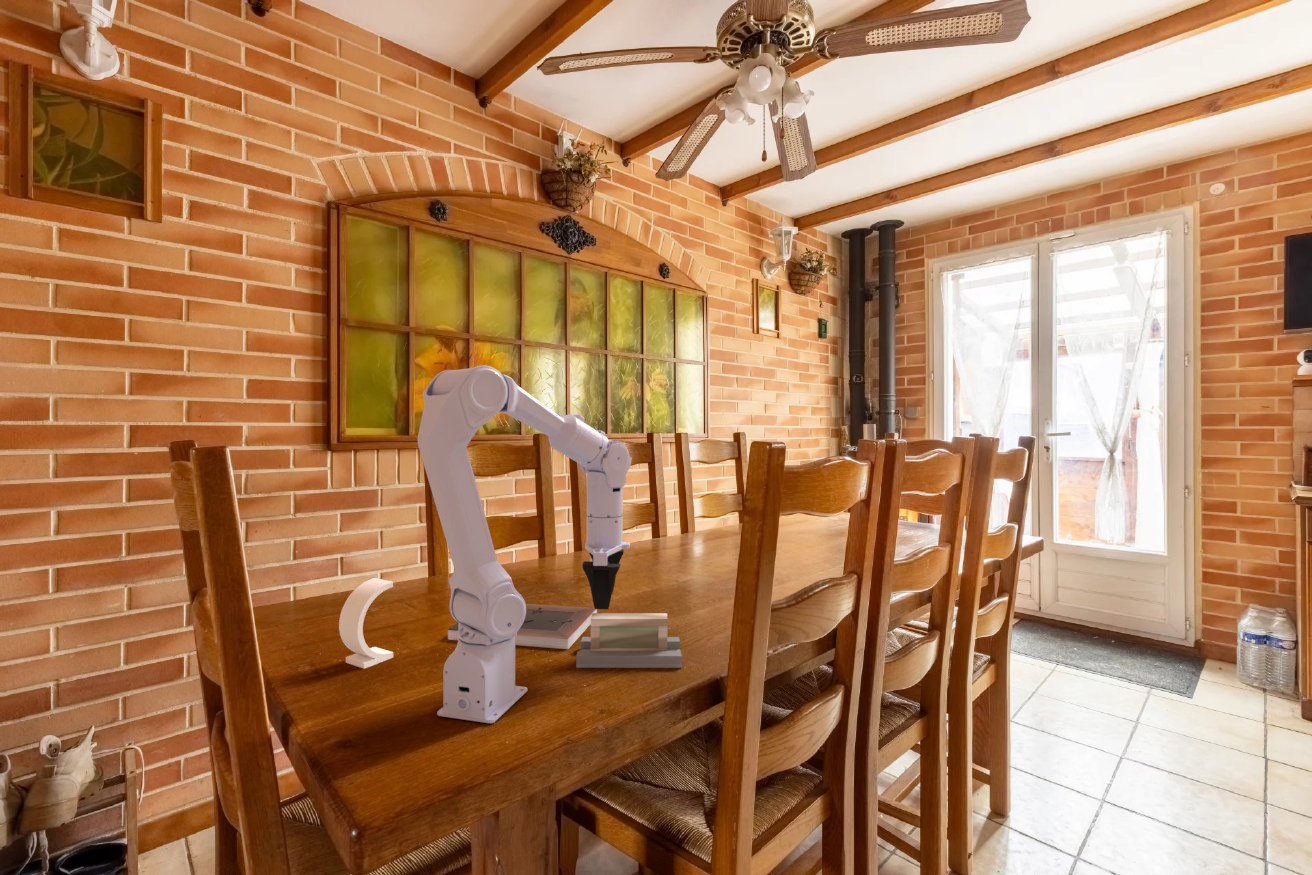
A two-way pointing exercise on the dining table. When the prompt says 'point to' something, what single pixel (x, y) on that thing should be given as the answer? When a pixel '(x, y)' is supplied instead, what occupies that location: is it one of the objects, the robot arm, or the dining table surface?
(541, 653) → the dining table surface
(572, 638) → the picture frame
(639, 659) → the grooved channel
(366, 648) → the headphone stand
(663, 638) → the frame
